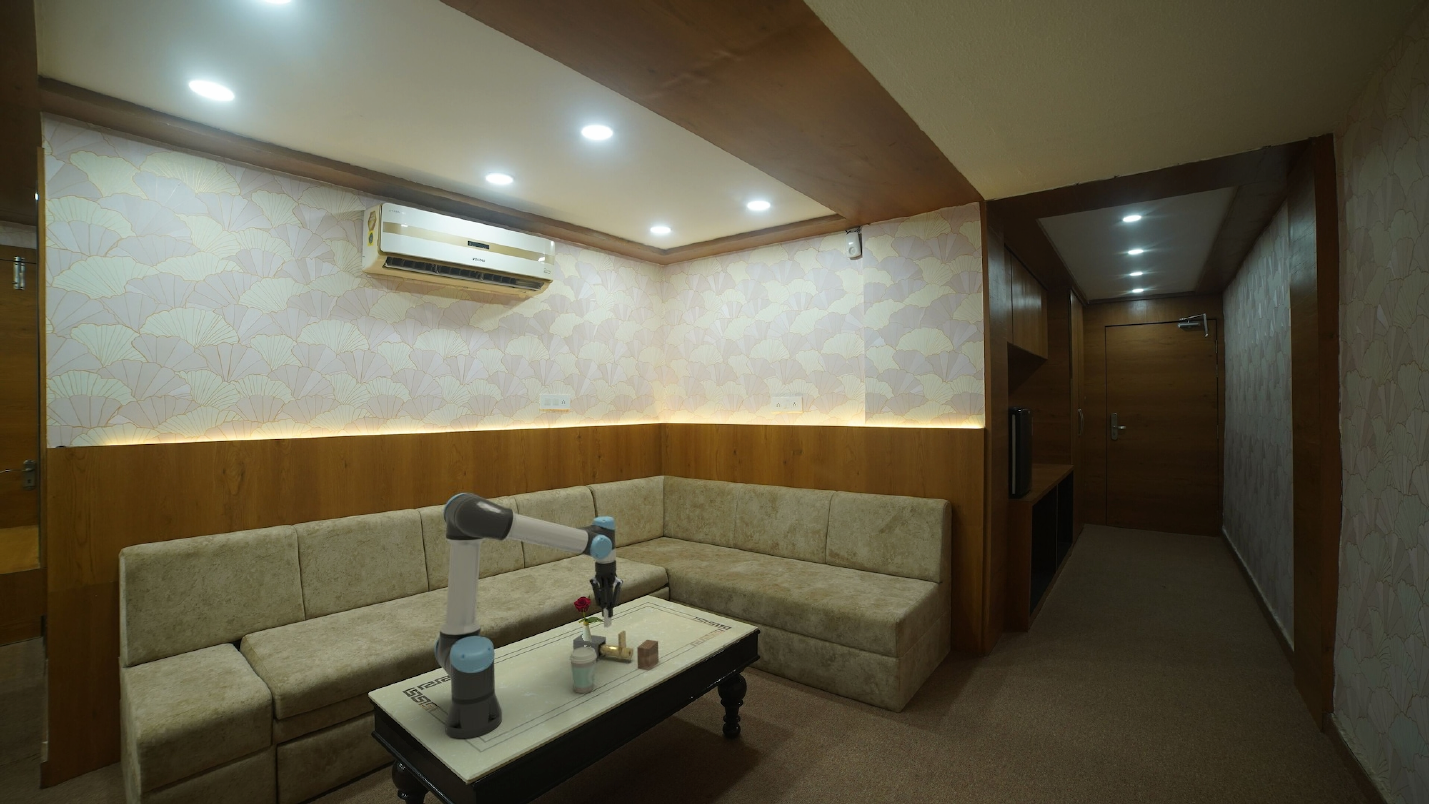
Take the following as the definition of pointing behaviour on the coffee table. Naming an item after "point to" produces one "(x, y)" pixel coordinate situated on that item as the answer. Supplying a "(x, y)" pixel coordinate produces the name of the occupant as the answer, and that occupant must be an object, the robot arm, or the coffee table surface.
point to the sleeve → (590, 643)
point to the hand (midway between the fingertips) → (607, 625)
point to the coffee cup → (583, 668)
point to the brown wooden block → (647, 654)
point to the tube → (617, 648)
